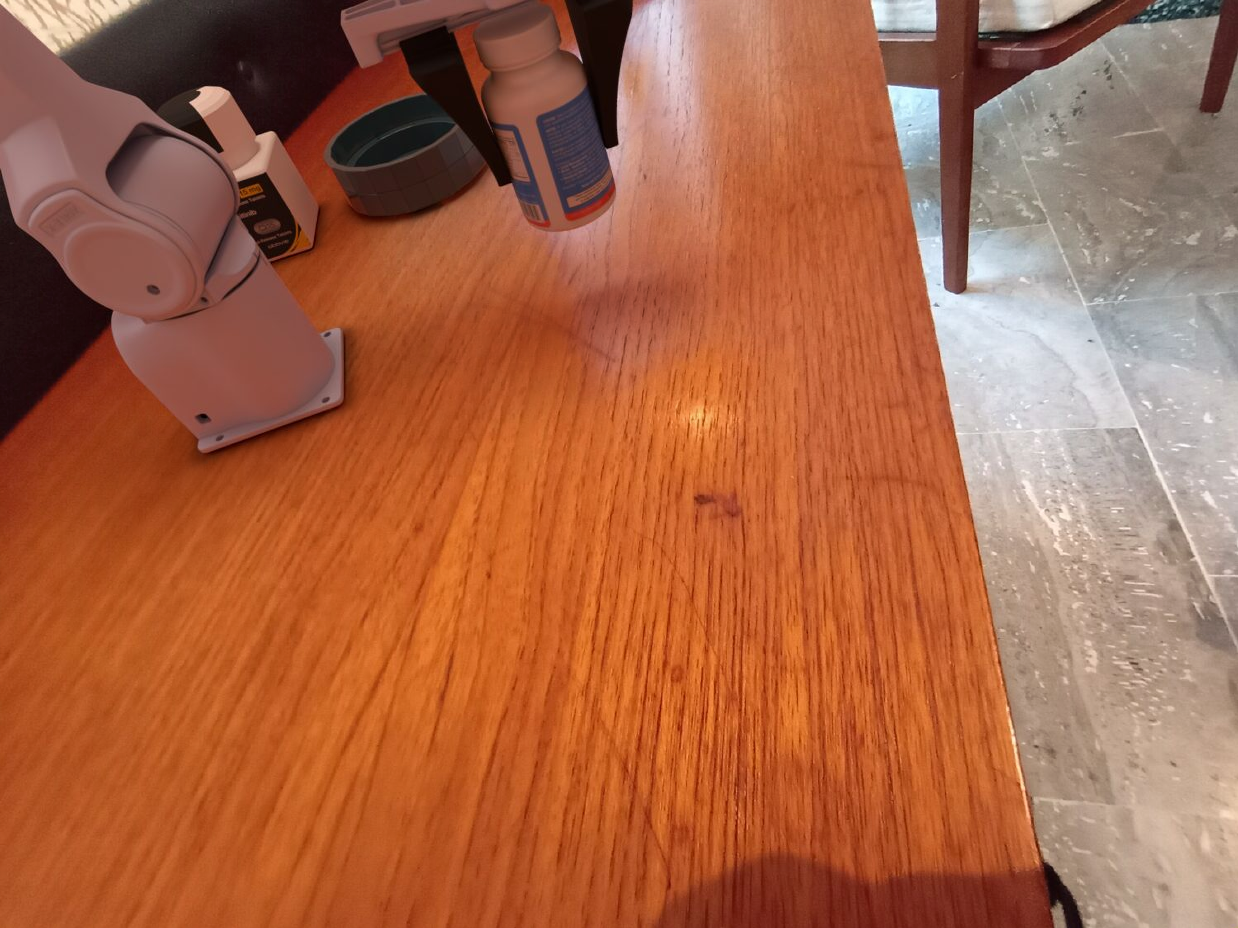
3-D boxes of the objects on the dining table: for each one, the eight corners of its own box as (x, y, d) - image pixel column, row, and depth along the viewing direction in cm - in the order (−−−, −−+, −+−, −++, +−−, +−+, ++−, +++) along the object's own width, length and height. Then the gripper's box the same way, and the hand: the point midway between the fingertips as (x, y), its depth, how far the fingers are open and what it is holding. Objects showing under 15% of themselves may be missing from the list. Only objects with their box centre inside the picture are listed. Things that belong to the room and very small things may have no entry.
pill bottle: (622, 174, 42) (578, -14, 35) (612, 227, 39) (561, 31, 32) (533, 189, 44) (473, 10, 36) (516, 241, 40) (446, 56, 33)
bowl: (351, 239, 59) (322, 189, 56) (350, 171, 68) (325, 124, 65) (500, 186, 59) (479, 133, 56) (480, 125, 68) (461, 75, 65)
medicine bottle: (232, 275, 60) (126, 134, 51) (245, 232, 65) (150, 96, 56) (314, 249, 60) (222, 102, 51) (320, 207, 65) (237, 66, 56)
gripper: (278, -83, 26) (433, 241, 36) (658, -216, 26) (707, 144, 36) (288, -116, 31) (423, 178, 41) (610, -230, 31) (665, 93, 41)
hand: (555, 159), depth 39 cm, fingers closed on pill bottle, 5 cm apart
